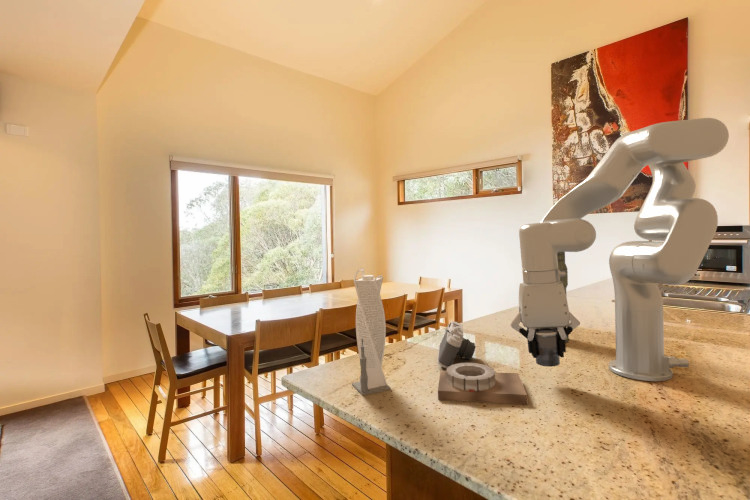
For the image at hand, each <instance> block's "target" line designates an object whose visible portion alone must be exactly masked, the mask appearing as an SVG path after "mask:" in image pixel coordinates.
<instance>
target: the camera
mask: <svg viewBox="0 0 750 500" xmlns="http://www.w3.org/2000/svg"><path fill="white" fill-rule="evenodd" d="M476 348H477V347H476V344H475V342H472V341H470V339H469V338H465V337H464V326H463V324H461V323H459V322H458V321H453V320H451V321H450V323H449V324H447V328H446V330H445V333H444V335H443V337H442V340H441V341H440V344H439V346H438V354H437V364H439V366H441V367H442V368H443V369H447V367H449V366H451V365H454V361H455V359H456V357H459V358H460V359H465V360H467V361H469V360H470V359H472V358H473V356H474V354H475V351H476Z"/></svg>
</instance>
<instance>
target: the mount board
mask: <svg viewBox="0 0 750 500" xmlns="http://www.w3.org/2000/svg"><path fill="white" fill-rule="evenodd" d="M438 379H439V380H438V387H437V401H455V402H471V403H472V402H473V403H491V404H511V405H528V394H527V392H526V389H525V386H524V384H523V382H522V379H521V377H520V375H519V372H518V373H517V372H496V371H495V369H494V368H493V367H491V366H488V365H486V364H483V363H477V362H476V363H475V362H459V363H455V364H454V363H453V364H452V365H451V366H449V367H447V368H446V370H440V372H439V378H438Z"/></svg>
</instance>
